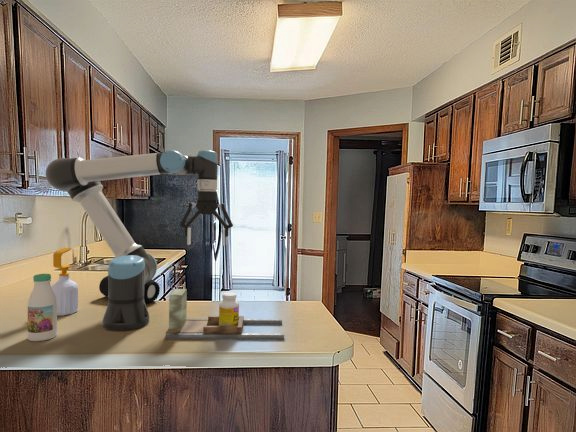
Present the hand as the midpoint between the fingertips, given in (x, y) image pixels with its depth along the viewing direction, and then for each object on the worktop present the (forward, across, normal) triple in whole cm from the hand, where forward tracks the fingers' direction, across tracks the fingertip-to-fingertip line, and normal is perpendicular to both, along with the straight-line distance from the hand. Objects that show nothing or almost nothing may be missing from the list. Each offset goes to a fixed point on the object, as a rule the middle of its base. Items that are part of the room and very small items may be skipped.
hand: (206, 244), depth 145 cm
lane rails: (+27, +11, -20) cm, 35 cm away
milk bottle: (+27, -47, -27) cm, 60 cm away
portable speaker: (+27, -35, +16) cm, 47 cm away
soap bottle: (+27, -53, -2) cm, 60 cm away
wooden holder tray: (+26, +4, -20) cm, 34 cm away
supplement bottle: (+27, +11, -20) cm, 36 cm away
